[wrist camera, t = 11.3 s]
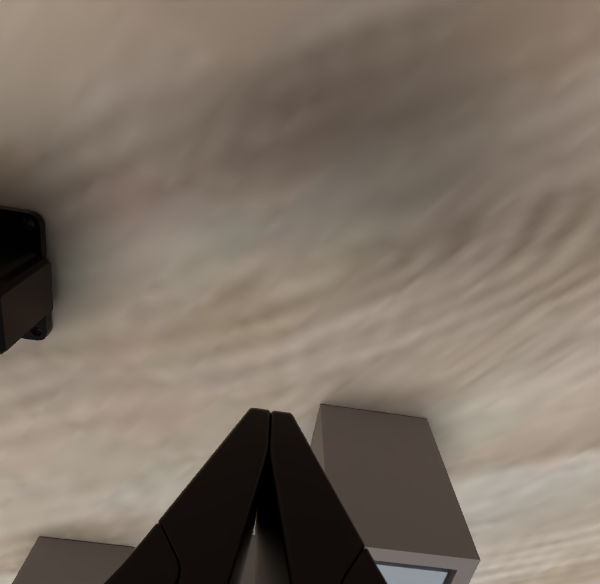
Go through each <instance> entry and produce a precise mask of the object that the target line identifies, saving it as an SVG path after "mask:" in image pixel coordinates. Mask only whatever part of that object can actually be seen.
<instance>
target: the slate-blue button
mask: <svg viewBox="0 0 600 584" xmlns="http://www.w3.org/2000/svg"><path fill="white" fill-rule="evenodd" d="M374 561H375V560H374ZM375 563H376V565H377V566H378V568H379V570H380V571H381V573H382V575H383V576H384V578H385V580H386V582H387V583H388V584H443V581H444V579H445V577H446V575H447V573H448V572H447V569H445V568H436V567H428V566H419V565H410V564H401V563H393V562H384V561H375Z"/></svg>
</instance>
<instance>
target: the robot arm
mask: <svg viewBox="0 0 600 584" xmlns="http://www.w3.org/2000/svg"><path fill="white" fill-rule="evenodd" d="M27 219H31V220H32V221H33V223H34V227H32V226H30V225H29V224H28V222H27ZM52 309H53V297H52V279H51V263H50V261H49V260H48V259H47V256H46V240H45V223H44V220H43V218H42V216H41V215H40V214H38V213H37V212H34V211H31V210H24V209H18V208H12V207H6V206H0V354H3V353H4V352H6V351H7V350H8V349H9V348H10V347H11V346H13V345H14V344H15V343H16V342H17V341H18V340H19V339H20V338H24V339H31V340H43V339H45V338H46V337H47V336H48V335H49V333H50V332H51V322H50V311H51V310H52ZM36 327H37V328H39V329H40V330H41V331H42V332H39V331H37V330H36ZM255 520H256V525H255ZM254 525H255V584H388V583H387V582H386V580H385V578H384V576H383V575H382V573H381V571H380V570H379V568H378V566H377V565H376V563H375V561H374V559H373V557H372V556H371V554H370V552H369V550H368V549H367V548H365V543H364V542H363V540H362V538H361V536H360V534H359V533H358V531H357V529H356V527H355V526H354V524H353V522H352V520H351V518H350V517H349V515H348V513H347V511H346V509H345V508H344V506H343V504H342V502H341V501H340V499H339V497H338V495H337V493H336V492H335V490H334V488H333V486H332V484H331V483H330V481H329V479H328V477H327V476H326V474H325V472H324V470H323V468H322V467H321V465H320V463H319V461H318V459H317V458H316V456H315V454H314V452H313V451H312V449H311V447H310V445H309V443H308V442H307V440H306V438H305V436H304V435H303V433H302V431H301V429H300V427H299V426H298V424H297V422H296V420H295V418H294V417H293V415H292V414H291V413H287V412H280V411H272V412H271V413H270V411H269V410H266V409H258V408H250V409H249V410H248V411H247V413H246V414H245V415H244V416H243V418H242V419H241V420H240V421H239V422H238V424H237V425H236V426H235V427H234V429H233V430H232V431H231V432H230V434H229V435H228V436H227V437H226V438H225V440H224V441H223V442H222V443H221V445H220V446H219V447H218V448H217V450H216V451H215V452H214V453H213V455H212V456H211V457H210V458H209V459H208V461H207V462H206V463H205V464H204V466H203V467H202V468H201V469H200V471H199V472H198V473H197V474H196V475H195V477H194V478H193V479H192V480H191V482H190V483H189V484H188V485H187V487H186V488H185V489H184V490H183V491H182V493H181V494H180V495H179V496H178V498H177V499H176V500H175V501H174V503H173V504H172V505H171V506H170V507H169V509H168V510H167V511H166V512H165V514H164V515H163V516H162V517H161V519H160V520H159V522H158V524H156V525H155V526H154V527H153V528H152V529H151V531H150V532H149V533H148V534H147V536H146V537H145V538H144V539H143V540H142V542H141V543H140V544H139V545H138V546H137V547H136V549H135V550H134V551H133V552H132V553H131V554H130V555H129V557H128V558H127V559H126V560H125V561H124V562H123V564H122V565H121V566H120V567H119V568H118V569H117V570H116V571H115V572H114V573H113V574H112V575H111V576H110V577H109V578H108V579H107V580H106V581H105V582H104V583H103V584H241V580H242V576H243V572H244V568H245V564H246V559H247V555H248V551H249V547H250V543H251V539H252V534H253V530H254Z"/></svg>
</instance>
